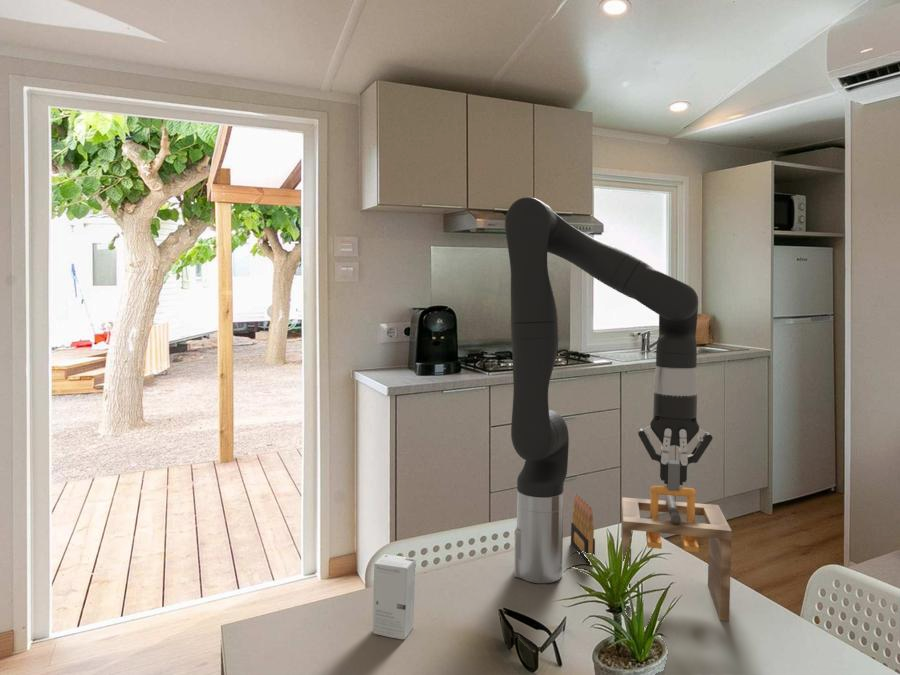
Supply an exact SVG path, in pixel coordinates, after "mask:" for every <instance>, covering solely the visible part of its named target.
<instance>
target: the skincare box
mask: <svg viewBox="0 0 900 675" xmlns="http://www.w3.org/2000/svg"><path fill="white" fill-rule="evenodd" d="M416 561H417V560H416V558H411V557H404V556H401V555H391V554H387V553H384V554H382V555H381V556H380V558H378V559H377V560H376V561H375V563H374V567H373V600H372V601H373V603H372V605H373V606H372V608H373V611H372V614H373V615H372V633H373V634H374V635H379V636H381V637H382V636H383V637H388V638H393V639H397V640H406V638H408V636H409V635H410V633H411V632H412V630H413V629H414V627H415V626H414V625H415V593H416V590H415V589H416V588H415V587H416V564H417V563H416Z"/></svg>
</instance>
